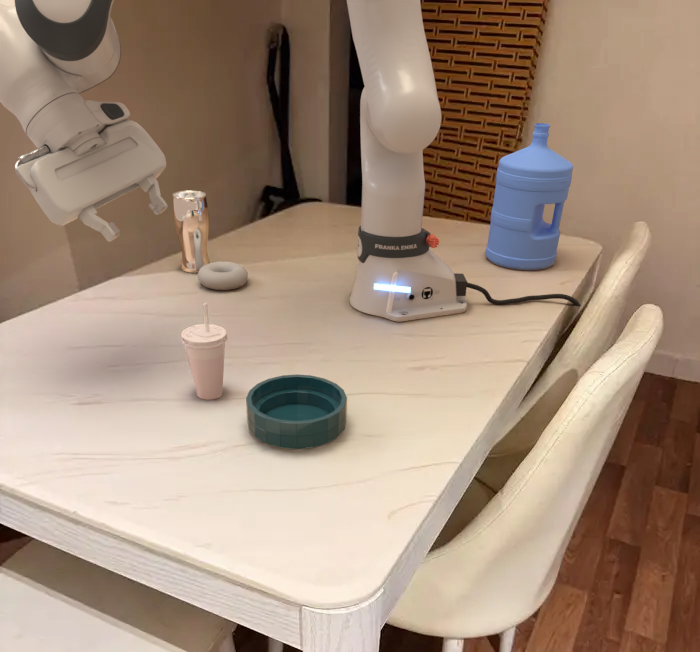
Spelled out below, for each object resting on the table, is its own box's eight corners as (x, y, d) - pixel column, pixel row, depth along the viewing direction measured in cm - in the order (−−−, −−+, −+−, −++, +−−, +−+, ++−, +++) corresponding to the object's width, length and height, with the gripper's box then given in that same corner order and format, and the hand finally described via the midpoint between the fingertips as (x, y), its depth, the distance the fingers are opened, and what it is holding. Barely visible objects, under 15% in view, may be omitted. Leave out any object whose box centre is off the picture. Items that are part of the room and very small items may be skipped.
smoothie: (222, 406, 100) (214, 314, 92) (180, 401, 101) (169, 309, 93) (237, 386, 105) (231, 297, 97) (197, 381, 106) (187, 292, 98)
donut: (215, 273, 146) (188, 287, 138) (213, 256, 144) (186, 270, 136) (257, 280, 143) (232, 295, 135) (256, 263, 141) (231, 278, 134)
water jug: (477, 265, 155) (496, 126, 139) (493, 245, 167) (512, 116, 151) (548, 276, 150) (576, 134, 134) (559, 255, 162) (586, 122, 146)
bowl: (335, 398, 103) (335, 371, 100) (355, 447, 92) (356, 418, 90) (243, 406, 100) (242, 378, 98) (253, 457, 90) (252, 427, 87)
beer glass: (181, 262, 150) (173, 189, 142) (214, 262, 151) (208, 190, 142) (177, 273, 145) (169, 198, 136) (211, 273, 145) (205, 198, 137)
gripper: (13, 146, 84) (92, 243, 87) (131, 99, 97) (196, 186, 100) (0, 175, 89) (75, 266, 92) (114, 127, 101) (177, 208, 105)
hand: (139, 224), depth 96 cm, fingers open, 8 cm apart
